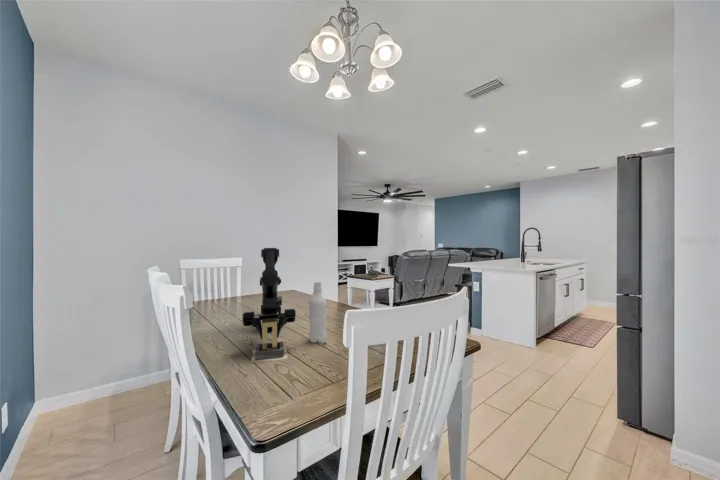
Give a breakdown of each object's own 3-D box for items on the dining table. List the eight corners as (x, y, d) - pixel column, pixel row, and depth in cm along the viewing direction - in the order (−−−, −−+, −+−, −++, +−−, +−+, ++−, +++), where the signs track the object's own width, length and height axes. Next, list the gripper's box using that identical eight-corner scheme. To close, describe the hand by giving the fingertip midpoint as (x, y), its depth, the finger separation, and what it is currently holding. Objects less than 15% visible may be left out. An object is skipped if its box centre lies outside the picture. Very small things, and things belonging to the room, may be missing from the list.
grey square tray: (253, 353, 107) (253, 343, 107) (286, 349, 110) (286, 339, 110) (250, 367, 95) (250, 355, 95) (287, 362, 99) (287, 351, 99)
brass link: (262, 352, 104) (262, 319, 104) (276, 351, 105) (276, 318, 105) (262, 357, 100) (262, 323, 100) (277, 355, 102) (276, 321, 101)
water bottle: (323, 347, 113) (323, 284, 113) (306, 345, 114) (306, 283, 114) (328, 340, 120) (328, 281, 120) (312, 339, 121) (312, 281, 121)
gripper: (242, 290, 104) (239, 330, 93) (295, 287, 109) (297, 324, 99) (244, 307, 111) (242, 345, 101) (293, 303, 117) (295, 339, 106)
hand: (269, 338), depth 101 cm, fingers closed on brass link, 5 cm apart
